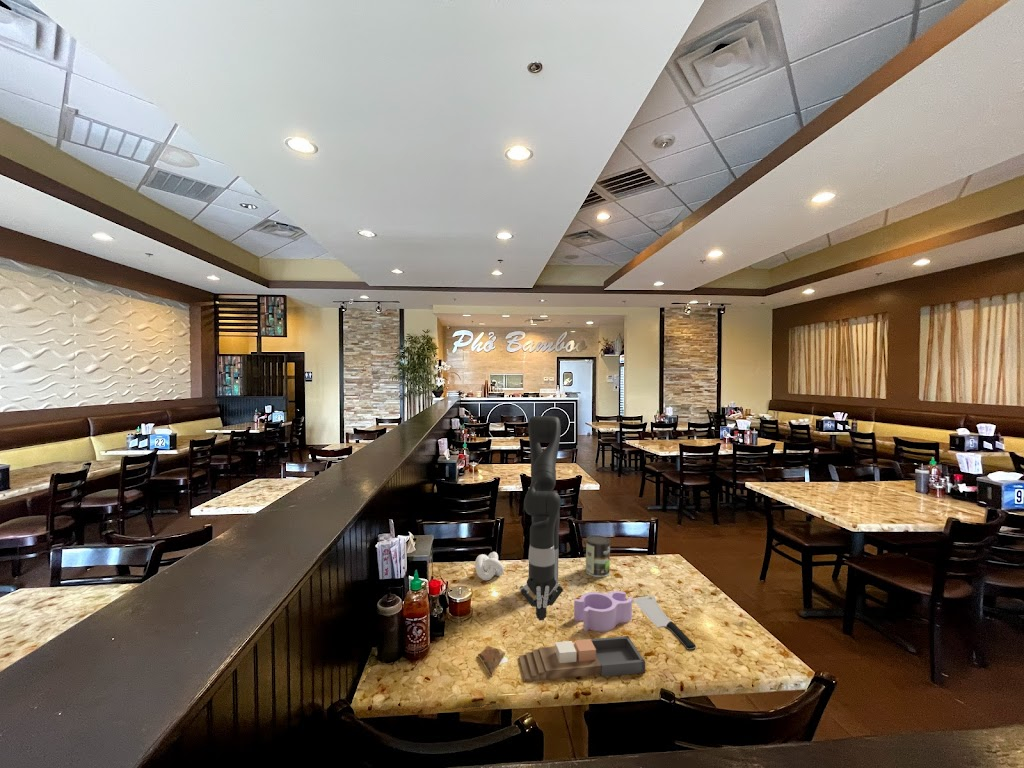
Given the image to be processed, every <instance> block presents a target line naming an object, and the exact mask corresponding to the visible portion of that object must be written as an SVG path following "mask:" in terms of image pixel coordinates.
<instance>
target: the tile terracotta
mask: <svg viewBox="0 0 1024 768" xmlns="http://www.w3.org/2000/svg"><path fill="white" fill-rule="evenodd" d="M591 639H592V638H590V639H589V638H587V639H577V640H576V639H575V640H574V643H573V645H574V647H575V649H576V655H577V657H578V659H579V661H590V660H596V649H595V647H594V645H593V643H592V641H591Z"/></svg>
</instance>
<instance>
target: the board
mask: <svg viewBox="0 0 1024 768" xmlns="http://www.w3.org/2000/svg"><path fill="white" fill-rule="evenodd" d="M538 649H539V652H540V655H541V658H542V661H543V664H544V667H545V670H546V679H545V680H553V679H567V678H574V677H575V678H578V677H586V676H596V675H597V676H599V675H601V665H600V663H599V661H598V659H597V657H596V660H590V661H579V659H578V657H577V655H576V662H569V663H559V661H558V658H557V655H556V653H555V646H544V647H538Z"/></svg>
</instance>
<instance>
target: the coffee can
mask: <svg viewBox="0 0 1024 768" xmlns="http://www.w3.org/2000/svg"><path fill="white" fill-rule="evenodd" d="M585 541H586V542H585V543H586V544H585V545H586V546H585V550H586V551H585V573H586V574H587V575H589V576H590V577H594V578H606V577H608V576H609V575H610V573H611V572H610V571H611V570H610V566H611V565H610V563H611V558H610V557H611V550H610V549H611V540H610V538H609V537H606V536H603V535H595V534H593V535H590V536H589V535H588V536H587V537H586V538H585Z"/></svg>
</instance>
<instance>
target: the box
mask: <svg viewBox="0 0 1024 768" xmlns="http://www.w3.org/2000/svg"><path fill="white" fill-rule="evenodd" d="M590 639H591V641H592V643H593V645H594V647H595V649H596V657H597V659H598V661H599V663H600V665H601V674H600V676H601V678H602V677H614V676H622V675H634V674H644V673H645V674H646V660H645V659H644V657H643V656H642V654H641V653H640V651H639V649H638V648H637V647H636V645H635V644H634V642H633V641H632V639H631V638H630V637H629V636H628V635H625V636H623V635H622V636H614V637H612V636H611V637H600V638H590Z"/></svg>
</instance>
